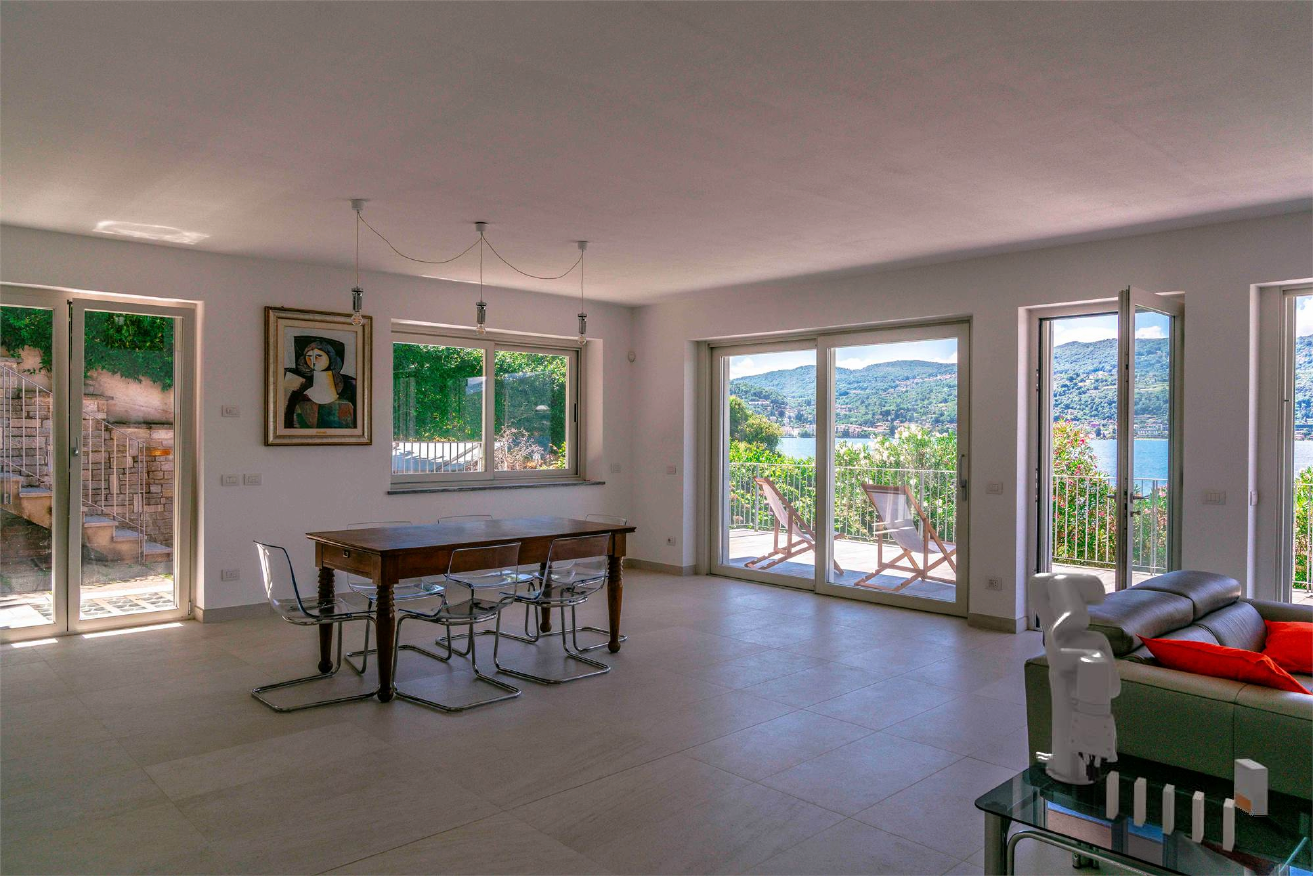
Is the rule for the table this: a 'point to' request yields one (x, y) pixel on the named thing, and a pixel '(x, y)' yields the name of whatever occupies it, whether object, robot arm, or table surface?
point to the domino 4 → (1198, 817)
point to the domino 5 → (1228, 824)
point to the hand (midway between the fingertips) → (1093, 779)
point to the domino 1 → (1112, 794)
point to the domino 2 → (1139, 801)
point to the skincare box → (1250, 787)
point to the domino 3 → (1168, 809)
